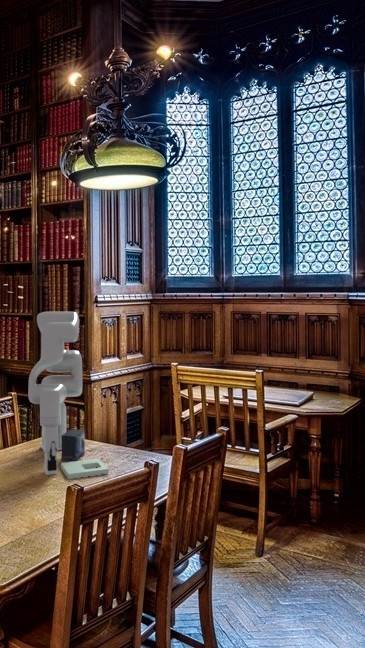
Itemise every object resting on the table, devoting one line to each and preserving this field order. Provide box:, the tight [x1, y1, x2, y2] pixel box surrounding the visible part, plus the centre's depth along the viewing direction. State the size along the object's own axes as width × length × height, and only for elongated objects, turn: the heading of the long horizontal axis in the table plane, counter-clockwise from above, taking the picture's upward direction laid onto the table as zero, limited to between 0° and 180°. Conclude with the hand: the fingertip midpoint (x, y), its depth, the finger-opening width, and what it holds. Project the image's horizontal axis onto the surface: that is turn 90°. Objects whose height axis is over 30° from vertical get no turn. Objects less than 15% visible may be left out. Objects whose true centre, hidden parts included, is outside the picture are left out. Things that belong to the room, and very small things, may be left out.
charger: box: [44, 450, 58, 476], centre depth 209 cm, size 4×4×10 cm
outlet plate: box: [60, 458, 110, 480], centre depth 211 cm, size 14×15×2 cm
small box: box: [60, 428, 86, 462], centre depth 229 cm, size 11×6×10 cm, turn 168°
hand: (51, 468), depth 209 cm, fingers closed on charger, 4 cm apart
